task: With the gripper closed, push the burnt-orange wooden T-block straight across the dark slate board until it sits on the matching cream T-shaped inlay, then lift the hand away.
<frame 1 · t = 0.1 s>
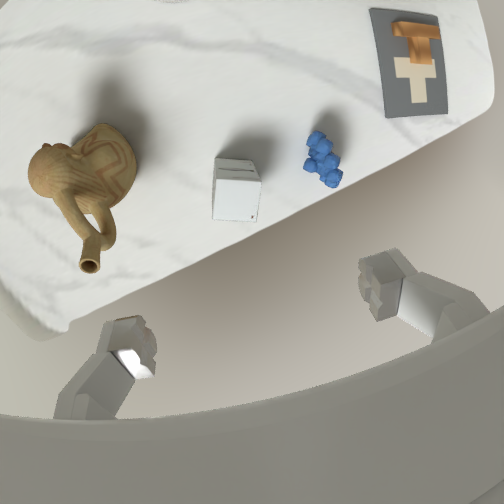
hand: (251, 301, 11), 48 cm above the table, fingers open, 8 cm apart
push board: (413, 63, 47), on the table
t block: (412, 43, 43), point 1 cm above the table, touching push board
ceramic vessel: (105, 164, 52), on the table
blue lumpy cluster: (309, 152, 57), on the table
supplement box: (231, 175, 57), on the table
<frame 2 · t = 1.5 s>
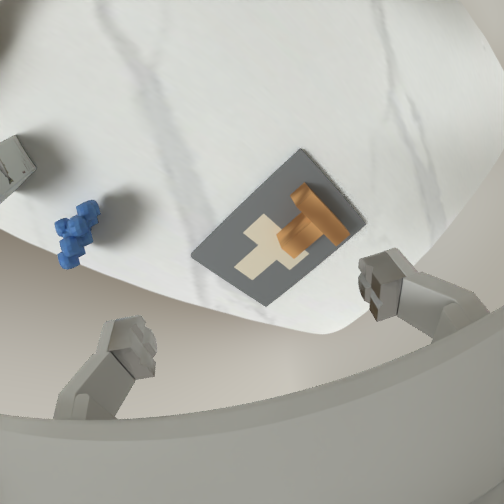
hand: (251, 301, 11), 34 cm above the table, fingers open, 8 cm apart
push board: (280, 236, 50), on the table
t block: (302, 221, 47), point 1 cm above the table, touching push board
blue lumpy cluster: (87, 212, 42), on the table
supplement box: (14, 163, 35), on the table
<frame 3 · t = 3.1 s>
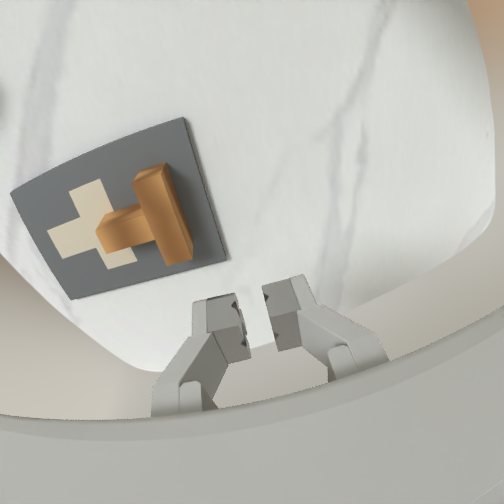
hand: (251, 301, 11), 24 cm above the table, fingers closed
push board: (112, 221, 33), on the table
t block: (143, 214, 33), point 1 cm above the table, touching push board
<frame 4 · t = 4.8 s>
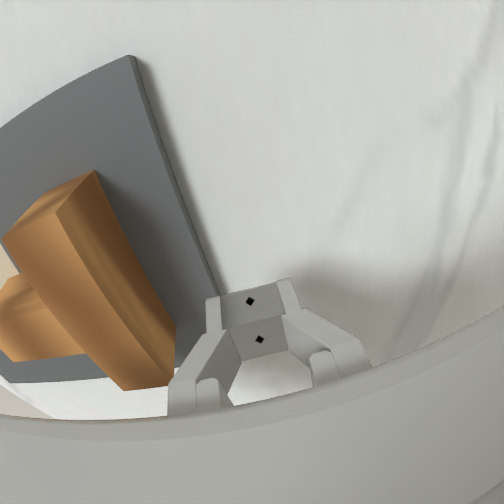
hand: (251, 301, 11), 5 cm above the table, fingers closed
push board: (27, 286, 15), on the table
t block: (69, 281, 14), point 1 cm above the table, touching push board
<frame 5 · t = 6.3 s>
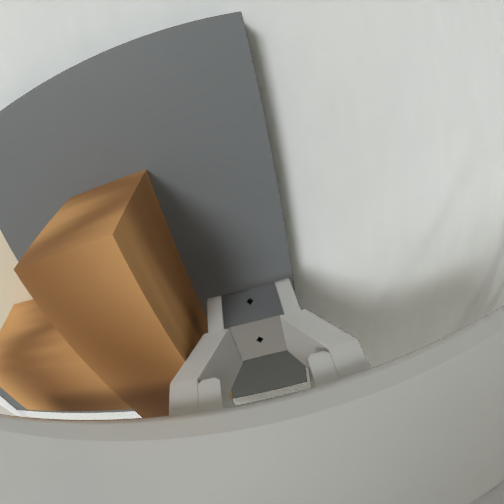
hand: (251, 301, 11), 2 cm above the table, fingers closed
push board: (46, 308, 12), on the table
t block: (97, 312, 11), point 1 cm above the table, touching gripper, push board
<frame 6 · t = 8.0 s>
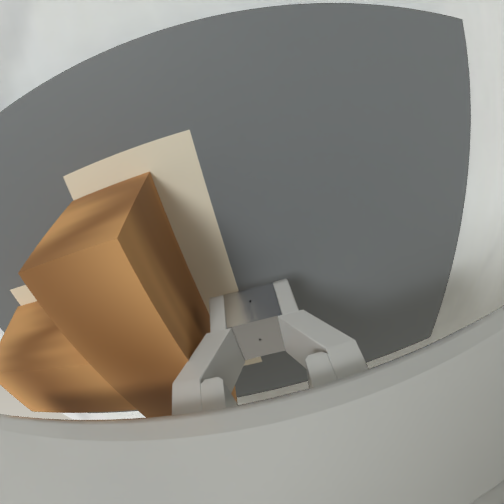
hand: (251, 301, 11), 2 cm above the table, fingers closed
push board: (203, 270, 12), on the table
t block: (102, 313, 12), point 1 cm above the table, touching gripper, push board
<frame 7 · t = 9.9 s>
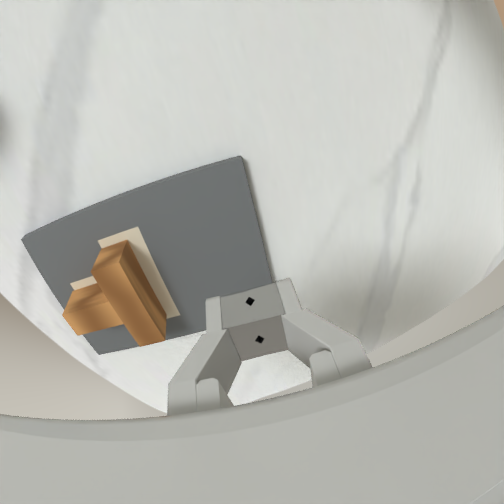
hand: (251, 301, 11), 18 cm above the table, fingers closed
push board: (150, 272, 30), on the table
t block: (111, 291, 29), point 1 cm above the table, touching push board
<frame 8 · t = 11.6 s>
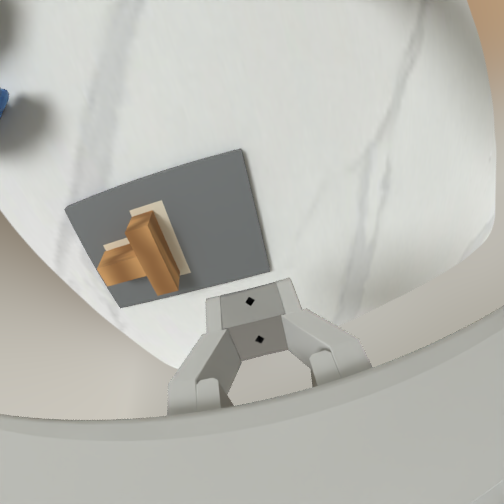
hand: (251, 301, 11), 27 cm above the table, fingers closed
push board: (168, 237, 39), on the table
t block: (136, 251, 39), point 1 cm above the table, touching push board
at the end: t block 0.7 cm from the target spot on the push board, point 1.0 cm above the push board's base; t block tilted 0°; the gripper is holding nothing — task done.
